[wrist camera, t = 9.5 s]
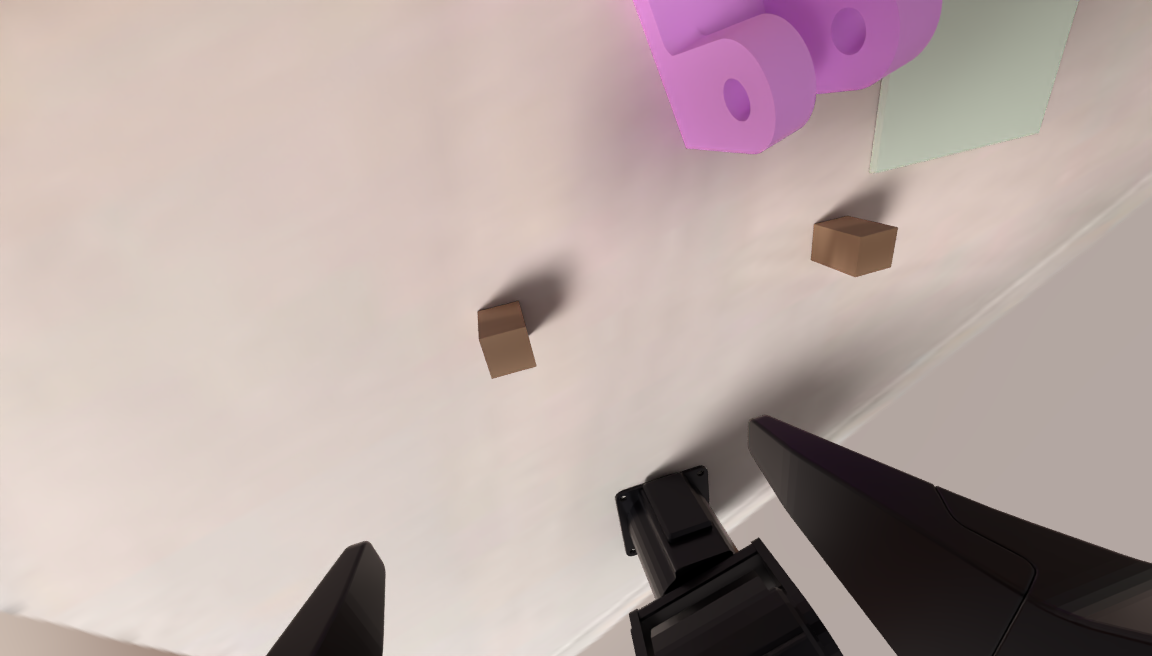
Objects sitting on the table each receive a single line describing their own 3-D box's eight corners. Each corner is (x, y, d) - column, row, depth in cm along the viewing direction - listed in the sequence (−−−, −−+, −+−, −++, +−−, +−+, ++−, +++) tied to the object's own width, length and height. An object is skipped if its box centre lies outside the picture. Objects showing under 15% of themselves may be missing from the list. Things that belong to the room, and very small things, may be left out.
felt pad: (1029, 133, 23) (1038, 133, 22) (869, 172, 22) (875, 173, 21) (1103, -117, 18) (1116, -122, 18) (904, -85, 17) (913, -89, 17)
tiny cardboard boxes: (843, 251, 23) (890, 267, 21) (488, 347, 21) (492, 378, 18) (911, -316, 14) (1012, -419, 11) (292, -263, 12) (240, -376, 9)
